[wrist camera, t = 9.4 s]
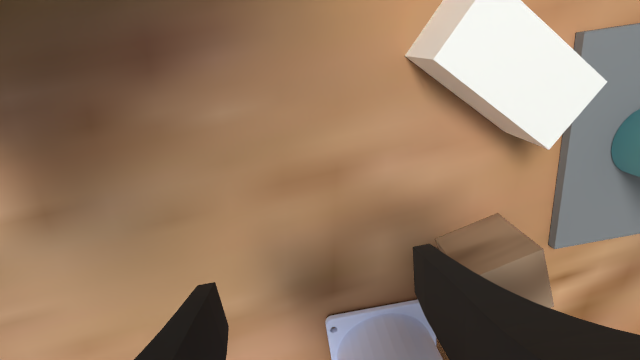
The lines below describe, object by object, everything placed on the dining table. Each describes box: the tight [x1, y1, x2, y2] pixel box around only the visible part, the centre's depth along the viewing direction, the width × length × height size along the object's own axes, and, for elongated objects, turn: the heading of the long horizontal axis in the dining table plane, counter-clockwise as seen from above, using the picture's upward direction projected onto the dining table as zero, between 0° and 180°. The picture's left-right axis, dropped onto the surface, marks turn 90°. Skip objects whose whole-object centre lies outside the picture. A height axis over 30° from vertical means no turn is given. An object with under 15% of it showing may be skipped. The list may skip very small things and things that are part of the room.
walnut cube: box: [435, 213, 554, 308], centre depth 23 cm, size 4×4×4 cm
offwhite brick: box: [405, 0, 607, 150], centre depth 18 cm, size 8×4×4 cm, turn 57°
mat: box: [548, 23, 640, 249], centre depth 22 cm, size 14×10×1 cm
